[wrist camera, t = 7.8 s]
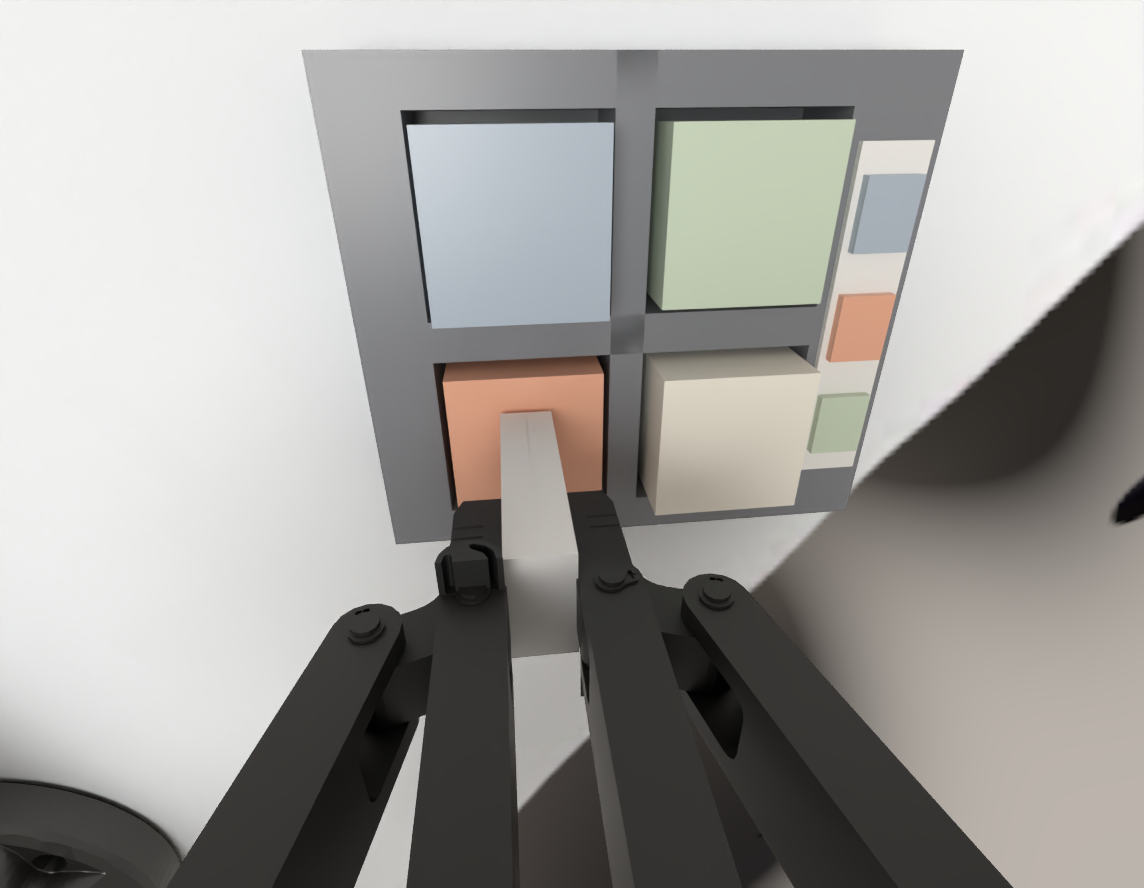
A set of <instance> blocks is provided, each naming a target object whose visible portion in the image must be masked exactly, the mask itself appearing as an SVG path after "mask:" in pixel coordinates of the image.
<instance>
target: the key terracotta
mask: <svg viewBox="0 0 1144 888" xmlns="http://www.w3.org/2000/svg"><path fill="white" fill-rule="evenodd" d="M443 389H444V397H445V405H446V413H447V421H448V429H449V437H450V446H451V454H452V462H453V470H454V478H455V486H456V494H457V502H458V507H459V506H460V505H461V503H462V502H463V501H474V500H488V499H501V446H500V414H507V413H524V412H542V411H551V413H552V418H553V423H554V429H555V434H556V439H557V444H558V450H559V455H560V460H561V465H562V471H563V476H564V481H565V487H566V492H567V493H568V492H582V491H597V490H602V450H603V393H604V373H603V371H602V368H601V366H600V363H599V361H598V359H597V356H596V355H595V356H575V357H554V358H533V359H513V360H492V361H471V362H451V363H446V368H445V373H444V378H443Z"/></svg>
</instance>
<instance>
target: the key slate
mask: <svg viewBox="0 0 1144 888" xmlns="http://www.w3.org/2000/svg"><path fill="white" fill-rule="evenodd" d="M407 133H408V141H409V149H410V156H411V164H412V172H413V180H414V188H415V196H416V204H417V212H418V220H419V228H420V236H421V244H422V251H423V259H424V267H425V275H426V283H427V291H428V299H429V307H430V315H431V323H432V329H438V328H461V327H484V326H507V325H531V324H554V323H577V322H600V321H610V282H611V236H612V190H613V143H614V123H612V122H532V123H445V124H413V125H407Z"/></svg>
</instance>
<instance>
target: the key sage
mask: <svg viewBox="0 0 1144 888" xmlns="http://www.w3.org/2000/svg"><path fill="white" fill-rule="evenodd" d="M855 123H856V119H774V120H687V121H655V130H654V149H653V169H652V189H651V208H650V228H649V248H648V268H647V287H646V292H647V293H648V295H649V296H650V297H651V298H652V299H653V300H654V302H655V303H656V304H657V305H658V306H659V307H660V309H661V310H680V309H704V308H728V307H752V306H776V305H800V304H820V303H821V298H822V293H823V288H824V283H825V277H826V272H827V267H828V262H829V257H830V252H831V246H832V241H833V236H834V231H835V226H836V221H837V216H838V210H839V205H840V200H841V195H842V190H843V185H844V179H845V174H846V169H847V164H848V159H849V154H850V148H851V143H852V138H853V133H854V128H855Z"/></svg>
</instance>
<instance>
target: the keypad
mask: <svg viewBox="0 0 1144 888" xmlns="http://www.w3.org/2000/svg"><path fill="white" fill-rule="evenodd" d="M963 53H964V50H302V55H303V60H304V65H305V71H306V76H307V81H308V86H309V92H310V97H311V102H312V107H313V112H314V118H315V123H316V128H317V133H318V139H319V144H320V149H321V154H322V160H323V165H324V170H325V175H326V180H327V186H328V191H329V196H330V201H331V207H332V212H333V217H334V222H335V228H336V233H337V238H338V243H339V249H340V254H341V259H342V264H343V269H344V275H345V280H346V285H347V290H348V296H349V301H350V306H351V311H352V317H353V322H354V327H355V332H356V338H357V343H358V348H359V353H360V358H361V364H362V369H363V374H364V379H365V385H366V390H367V395H368V400H369V406H370V411H371V416H372V421H373V427H374V432H375V437H376V442H377V447H378V453H379V458H380V463H381V468H382V474H383V479H384V484H385V489H386V495H387V500H388V505H389V510H390V516H391V521H392V526H393V531H394V536H395V542H396V544H406V543H419V542H432V541H446V540H451V533H452V524H453V515H454V513H455V511H456V510H457V509H458V502H457V494H456V486H455V478H454V470H453V462H452V454H451V446H450V437H449V429H448V421H447V413H446V405H445V397H444V389H443V378H444V373H445V368H446V363H451V362H471V361H492V360H513V359H533V358H554V357H575V356H595V355H596V356H597V359H598V361H599V363H600V366H601V368H602V371H603V373H604V393H603V450H602V491H603V492H604V493H605V494H606V495H607V496H608V497H609V498H610V499H611V500H612V501H613V503H614V506H615V510H616V513H617V516H618V519H619V523H620V527H630V526H644V525H657V524H670V523H683V522H696V521H710V520H723V519H736V518H749V517H762V516H776V515H789V514H802V513H815V512H828V511H842V510H846V506H847V502H848V499H849V495H850V491H851V487H852V483H853V479H854V475H855V471H856V468H857V464H858V460H859V456H860V452H861V448H862V444H863V440H864V437H865V433H866V429H867V425H868V421H869V417H870V413H871V409H872V406H873V402H874V398H875V394H876V390H877V386H878V382H879V378H880V375H881V371H882V367H883V363H884V359H885V355H886V351H887V347H888V343H889V340H890V336H891V332H892V328H893V324H894V320H895V316H896V312H897V309H898V305H899V301H900V297H901V293H902V289H903V285H904V281H905V278H906V274H907V270H908V266H909V262H910V258H911V254H912V250H913V247H914V243H915V239H916V235H917V231H918V227H919V223H920V219H921V216H922V212H923V208H924V204H925V200H926V196H927V192H928V188H929V184H930V181H931V177H932V173H933V169H934V165H935V161H936V157H937V153H938V150H939V146H940V142H941V138H942V134H943V130H944V126H945V122H946V119H947V115H948V111H949V107H950V103H951V99H952V95H953V91H954V88H955V84H956V80H957V76H958V72H959V68H960V64H961V60H962V57H963ZM774 119H856V123H855V128H854V133H853V138H852V143H851V148H850V154H849V159H848V164H847V169H846V174H845V179H844V185H843V190H842V195H841V200H840V205H839V210H838V216H837V221H836V226H835V231H834V236H833V241H832V246H831V252H830V257H829V262H828V267H827V272H826V277H825V283H824V288H823V293H822V298H821V303H820V304H800V305H776V306H752V307H728V308H704V309H680V310H661V309H660V307H659V306H658V305H657V304H656V303H655V302H654V300H653V299H652V298H651V297H650V296H649V295H648V293H647V292H646V287H647V268H648V248H649V228H650V208H651V189H652V169H653V149H654V130H655V121H687V120H774ZM532 122H612V123H614V143H613V190H612V236H611V282H610V321H600V322H577V323H554V324H531V325H507V326H484V327H461V328H438V329H432V323H431V315H430V307H429V299H428V291H427V283H426V275H425V267H424V259H423V251H422V244H421V236H420V228H419V220H418V212H417V204H416V196H415V188H414V180H413V172H412V164H411V156H410V149H409V141H408V133H407V125H413V124H445V123H532ZM781 346H788V347H789V348H790V349H791V350H793V351H794V352H795V353H796V354H798V355H799V356H800V357H802V358H803V359H804V360H805V361H807V362H808V363H809V364H810V365H812V366H813V367H814V368H816V369H817V370H818V371H819V372H821V377H820V382H819V387H818V391H817V396H816V401H815V406H814V411H813V416H812V420H811V425H810V430H809V435H808V440H807V445H806V450H805V454H804V459H803V464H802V469H801V474H800V479H799V484H798V488H797V493H796V498H795V503H794V505H790V506H777V507H763V508H750V509H736V510H723V511H709V512H696V513H682V514H669V515H655V514H654V511H653V509H652V506H651V504H650V501H649V499H648V496H647V494H646V491H645V489H644V486H643V484H642V481H641V479H640V476H639V474H638V471H637V464H638V445H639V425H640V405H641V386H642V366H643V353H657V352H678V351H699V350H719V349H740V348H761V347H781Z"/></svg>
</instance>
